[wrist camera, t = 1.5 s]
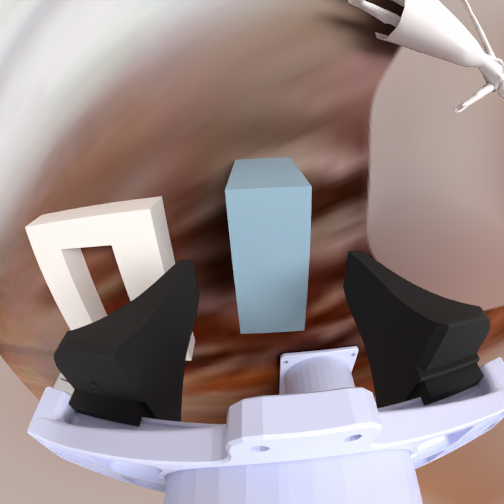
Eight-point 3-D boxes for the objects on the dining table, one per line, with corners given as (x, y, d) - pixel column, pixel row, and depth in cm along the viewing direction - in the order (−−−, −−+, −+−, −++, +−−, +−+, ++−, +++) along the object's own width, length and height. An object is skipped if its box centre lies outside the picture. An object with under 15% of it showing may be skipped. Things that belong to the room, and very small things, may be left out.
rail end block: (290, 264, 21) (304, 330, 15) (244, 266, 21) (240, 333, 15) (289, 157, 17) (311, 186, 11) (235, 159, 17) (224, 190, 11)
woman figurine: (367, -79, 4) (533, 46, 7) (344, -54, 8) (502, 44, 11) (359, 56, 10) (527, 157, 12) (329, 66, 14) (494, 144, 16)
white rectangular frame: (195, 340, 25) (191, 360, 23) (92, 334, 25) (83, 351, 23) (161, 196, 18) (150, 209, 16) (41, 214, 18) (25, 227, 16)
